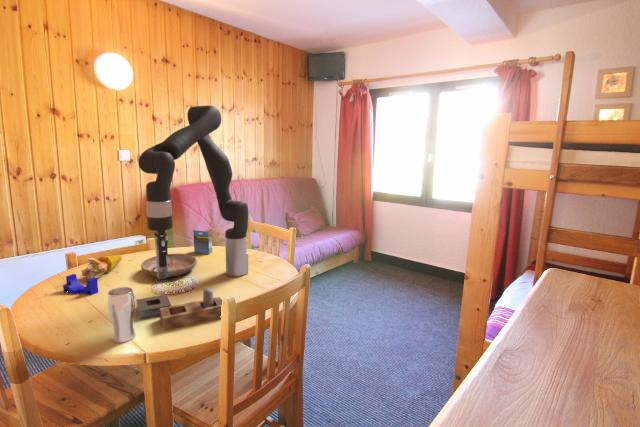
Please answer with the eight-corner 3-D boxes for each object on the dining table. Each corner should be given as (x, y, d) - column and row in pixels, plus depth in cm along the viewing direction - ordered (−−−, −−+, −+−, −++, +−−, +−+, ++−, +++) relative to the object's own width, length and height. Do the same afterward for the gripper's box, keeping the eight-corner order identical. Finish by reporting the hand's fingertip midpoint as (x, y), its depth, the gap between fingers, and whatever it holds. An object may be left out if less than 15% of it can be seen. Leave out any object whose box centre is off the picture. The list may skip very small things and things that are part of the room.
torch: (122, 271, 172) (90, 285, 147) (107, 263, 172) (72, 275, 147) (130, 256, 172) (99, 268, 147) (115, 248, 171) (82, 258, 146)
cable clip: (63, 292, 139) (62, 277, 138) (74, 288, 143) (73, 273, 142) (88, 297, 136) (86, 282, 135) (98, 292, 140) (97, 278, 139)
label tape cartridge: (212, 252, 193) (212, 229, 191) (208, 254, 189) (208, 231, 187) (197, 250, 195) (197, 228, 193) (193, 252, 191) (192, 230, 189)
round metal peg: (167, 274, 122) (165, 243, 120) (168, 277, 119) (167, 245, 117) (157, 276, 121) (155, 244, 119) (158, 279, 118) (156, 246, 116)
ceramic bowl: (129, 276, 157) (128, 265, 156) (169, 260, 178) (169, 250, 177) (170, 285, 149) (169, 274, 148) (207, 268, 170) (207, 257, 169)
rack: (219, 307, 131) (219, 283, 129) (226, 316, 124) (225, 291, 122) (160, 319, 121) (158, 294, 119) (163, 330, 114) (162, 303, 112)
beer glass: (117, 331, 112) (113, 286, 109) (140, 331, 113) (137, 286, 110) (106, 344, 106) (102, 296, 103) (131, 343, 106) (127, 296, 103)
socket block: (166, 301, 134) (166, 294, 133) (171, 313, 125) (171, 305, 125) (136, 307, 129) (136, 299, 128) (139, 319, 120) (138, 311, 120)
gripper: (175, 217, 112) (177, 270, 115) (169, 209, 124) (171, 257, 127) (148, 219, 108) (151, 274, 111) (145, 211, 120) (148, 260, 123)
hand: (162, 265), depth 119 cm, fingers closed on round metal peg, 3 cm apart
